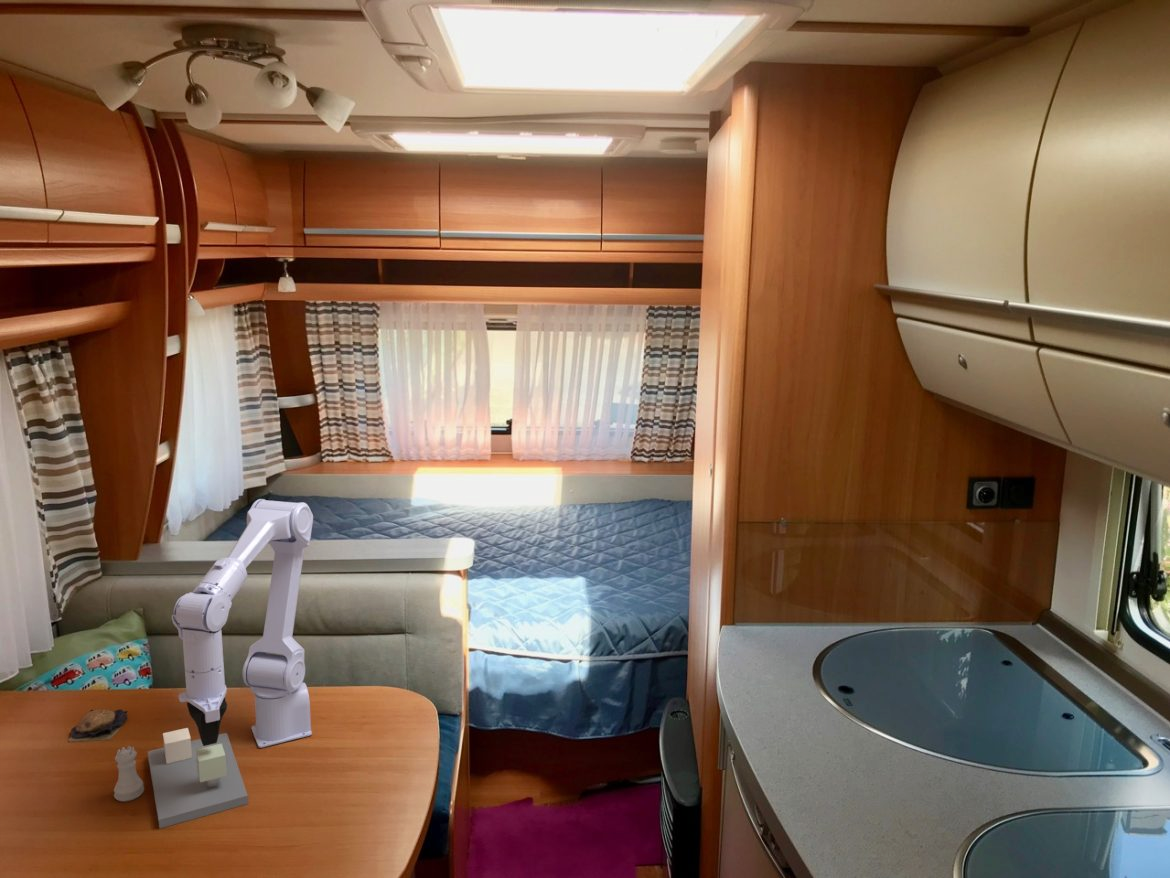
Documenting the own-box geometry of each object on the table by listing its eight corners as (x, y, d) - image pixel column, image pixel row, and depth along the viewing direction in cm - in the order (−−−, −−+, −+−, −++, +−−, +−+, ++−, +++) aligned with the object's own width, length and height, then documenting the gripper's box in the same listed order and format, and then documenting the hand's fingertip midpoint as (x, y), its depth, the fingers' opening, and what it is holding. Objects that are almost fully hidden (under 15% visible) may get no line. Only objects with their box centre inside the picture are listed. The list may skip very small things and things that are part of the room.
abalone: (111, 744, 157) (110, 725, 156) (62, 745, 156) (61, 727, 155) (135, 714, 167) (133, 697, 166) (89, 715, 166) (87, 698, 165)
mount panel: (227, 740, 158) (225, 720, 157) (248, 803, 139) (246, 781, 138) (148, 759, 151) (146, 738, 150) (159, 828, 132) (157, 805, 132)
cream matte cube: (189, 746, 152) (187, 727, 152) (192, 757, 149) (190, 738, 148) (164, 752, 150) (162, 733, 150) (166, 763, 147) (165, 744, 146)
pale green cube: (222, 763, 144) (221, 743, 143) (226, 775, 140) (225, 755, 140) (197, 770, 142) (195, 749, 141) (200, 782, 138) (198, 761, 138)
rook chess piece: (131, 804, 138) (127, 759, 137) (107, 800, 139) (103, 755, 138) (150, 788, 143) (146, 744, 141) (127, 785, 143) (123, 741, 142)
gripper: (172, 653, 142) (177, 728, 144) (182, 689, 129) (188, 771, 132) (218, 644, 145) (222, 718, 148) (231, 679, 133) (236, 759, 135)
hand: (209, 742), depth 140 cm, fingers closed
